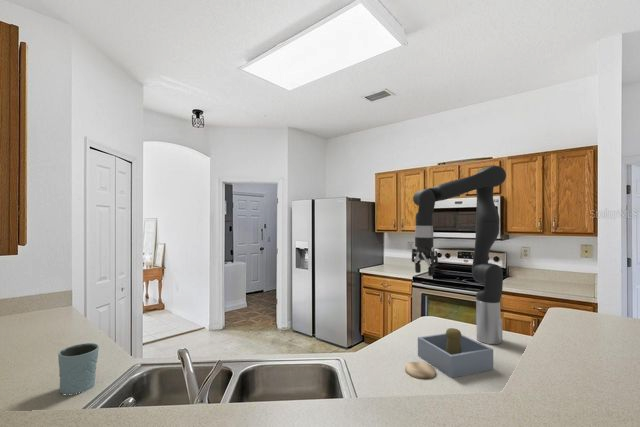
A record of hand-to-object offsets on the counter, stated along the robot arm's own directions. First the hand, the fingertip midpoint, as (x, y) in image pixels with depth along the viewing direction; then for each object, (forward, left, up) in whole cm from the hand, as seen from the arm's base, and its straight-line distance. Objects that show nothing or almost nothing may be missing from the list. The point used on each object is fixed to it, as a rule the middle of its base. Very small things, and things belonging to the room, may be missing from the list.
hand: (424, 274), depth 136 cm
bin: (+2, +20, -29) cm, 35 cm away
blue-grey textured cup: (+125, -3, -29) cm, 128 cm away
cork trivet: (+18, +22, -29) cm, 40 cm away
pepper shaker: (+2, +20, -28) cm, 34 cm away
